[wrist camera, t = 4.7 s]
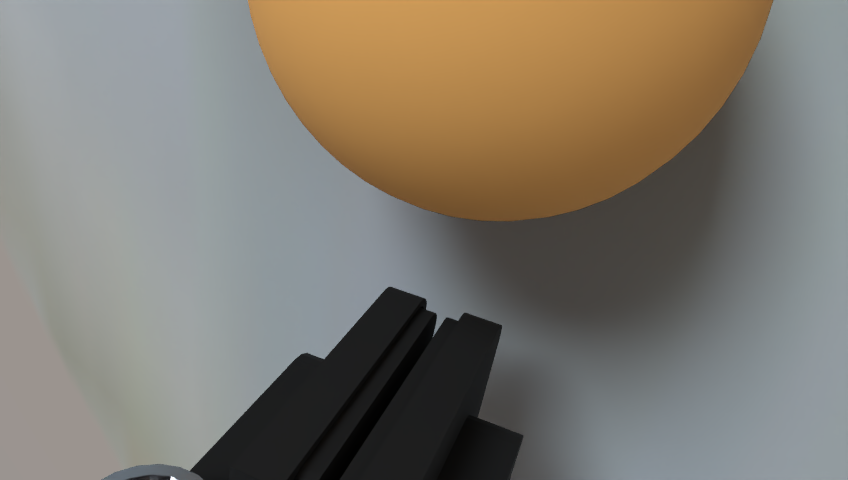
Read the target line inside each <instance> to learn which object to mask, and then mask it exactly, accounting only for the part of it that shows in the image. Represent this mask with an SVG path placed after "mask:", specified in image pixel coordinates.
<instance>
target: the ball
mask: <svg viewBox="0 0 848 480" xmlns="http://www.w3.org/2000/svg"><path fill="white" fill-rule="evenodd" d="M248 3H249V8H250V14H251V18H252V21H253V24H254V28H255V31H256V35H257V38H258V41H259V45H260V47H261V50H262V52H263V54H264V57H265V59H266V62H267V64H268V66H269V69H270V71H271V74H272V75H273V77H274V79H275V81H276V83H277V85H278V86H279V88H280V90H281V92H282V94H283V96H284V97H285V99H286V101H287V102H288V104H289V105H290V106H291V108H292V109H293V111H294V112H295V114H296V115H297V117H298V118H299V119H300V121H301V122H302V124H303V125H304V126H305V127H306V128H307V129H308V131H309V132H310V133H311V134H312V135H313V136H314V137H315V139H316V140H317V141H318V142H319V143H320V144H321V145H322V146H323V147H324V148H325V149H326V150H327V151H328V152H329V153H330V154H331V155H332V156H334V157H335V158H336V159H337V160H338V161H339V162H340V163H341V164H342V165H344V166H345V167H346V168H348V169H349V170H350V171H352V172H353V173H355V174H356V175H357V176H359V177H360V178H361V179H363V180H364V181H366V182H367V183H369V184H371V185H373V186H375V187H376V188H378V189H380V190H382V191H384V192H385V193H387V194H389V195H391V196H393V197H395V198H398V199H400V200H403V201H405V202H407V203H410V204H412V205H415V206H417V207H420V208H422V209H425V210H429V211H432V212H436V213H440V214H443V215H447V216H451V217H457V218H464V219H471V220H478V221H518V220H527V219H536V218H545V217H551V216H555V215H559V214H564V213H568V212H572V211H576V210H580V209H582V208H585V207H588V206H590V205H593V204H595V203H598V202H601V201H603V200H606V199H609V198H611V197H612V196H614V195H616V194H618V193H620V192H622V191H624V190H626V189H627V188H629V187H631V186H633V185H635V184H637V183H639V182H640V181H641V180H643V179H644V178H646V177H647V176H648V175H650V174H651V173H653V172H654V171H655V170H657V169H658V168H660V167H661V166H663V165H664V164H665V163H667V162H668V161H670V160H671V159H672V158H673V157H675V156H676V155H677V154H678V153H679V152H680V151H681V150H682V149H683V148H684V147H685V146H687V145H688V144H689V143H690V142H691V141H692V140H693V139H694V138H695V137H696V136H697V135H699V133H700V132H701V131H702V130H703V129H704V127H705V126H706V125H707V124H708V123H709V122H710V120H711V119H712V118H713V117H714V116H715V114H716V113H717V112H718V111H719V110H720V109H721V107H722V106H723V105H724V103H725V102H726V100H727V99H728V97H729V95H730V94H731V92H732V91H733V89H734V88H735V86H736V85H737V83H738V82H739V80H740V79H741V77H742V76H743V74H744V72H745V70H746V68H747V66H748V63H749V61H750V59H751V57H752V55H753V53H754V51H755V49H756V47H757V45H758V43H759V41H760V39H761V36H762V33H763V30H764V27H765V24H766V21H767V18H768V15H769V12H770V9H771V6H772V3H773V0H248Z"/></svg>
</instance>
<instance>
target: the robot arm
mask: <svg viewBox="0 0 848 480" xmlns="http://www.w3.org/2000/svg"><path fill="white" fill-rule="evenodd" d="M426 304H427V301H426V299H424V298H422V297H419V296H416V295H413V294H410V293H407V292H404V291H401V290H399V289H396V288H393V287H388V288H387V289H386V290H385V291H384V292H383V293H382V294H381V295H380V296H379V297H378V299H377V300H376V301H375V302H374V303H373V304H372V305H371V307H370V308H369V309H368V310H367V311H366V312H365V313H364V315H363V316H362V317H361V318H360V319H359V320H358V321H357V323H356V324H355V325H354V326H353V327H352V328H351V329H350V331H349V332H348V333H347V334H346V335H345V336H344V337H343V338H342V340H341V341H340V342H339V343H338V344H337V345H336V346H335V348H334V349H333V350H332V351H331V352H330V353H329V354H328V356H327V357H326V358H325V359H321V358H319V357H316V356H313V355H311V354H308V353H305V354H301V355H300V356H299V357H298V358H296V359H295V360H294V361H293V362H292V363H291V364H290V365H289V366H288V367H287V369H286V370H285V371H284V372H283V373H282V374H281V375H280V376H279V377H278V378H277V379H276V380H275V381H274V382H273V383H272V384H271V385H270V387H269V388H268V389H267V390H266V391H265V392H264V393H263V394H262V395H261V396H260V397H259V398H258V399H257V400H256V401H255V402H254V403H253V405H252V406H251V407H250V408H249V409H248V410H247V411H246V412H245V413H244V414H243V415H242V416H241V417H240V418H239V419H238V420H237V421H236V423H235V424H234V425H233V426H232V427H231V428H230V429H229V430H228V431H227V432H226V433H225V434H224V435H223V436H222V437H221V438H220V439H219V441H218V442H217V443H216V444H215V445H214V446H213V447H212V448H211V449H210V450H209V451H208V452H207V453H206V454H205V455H204V456H203V457H202V459H201V460H200V461H199V462H198V463H197V464H196V465H195V466H194V467H193V468H192V469H191V470H190V471H188V470H186V469H183V468H181V467H176V466H169V465H163V464H153V465H140V466H134V467H131V468H128V469H124V470H121V471H117V472H115V473H113V474H111V475H109V476H107V477H105V478H104V479H102V480H510V477H511V474H512V471H513V468H514V464H515V461H516V458H517V455H518V452H519V449H520V445H521V442H522V439H523V435H521V434H518V433H516V432H513V431H510V430H508V429H505V428H502V427H500V426H497V425H495V424H492V423H489V422H487V421H484V420H481V419H479V418H478V414H479V410H480V407H481V403H482V400H483V396H484V392H485V389H486V385H487V382H488V378H489V374H490V371H491V367H492V363H493V360H494V356H495V353H496V349H497V345H498V342H499V338H500V334H501V329H502V325H499V324H496V323H493V322H491V321H488V320H485V319H482V318H479V317H476V316H473V315H470V314H468V313H464V314H463V315H462V316H461V318H460V319H459V321H456V320H454V319H451V318H448V317H447V318H446V319H445V320H444V321H443V323H442V325H441V326H440V328H439V329H438V331H437V332H436V334H435V335H434V337H433V333H434V329H435V325H436V319H437V315H436V313H434V312H431V311H428V310H426Z"/></svg>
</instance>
